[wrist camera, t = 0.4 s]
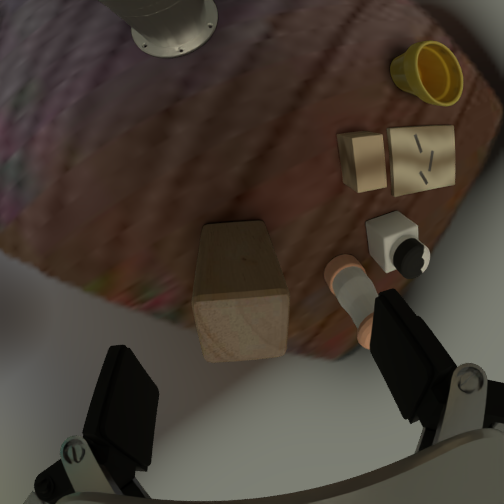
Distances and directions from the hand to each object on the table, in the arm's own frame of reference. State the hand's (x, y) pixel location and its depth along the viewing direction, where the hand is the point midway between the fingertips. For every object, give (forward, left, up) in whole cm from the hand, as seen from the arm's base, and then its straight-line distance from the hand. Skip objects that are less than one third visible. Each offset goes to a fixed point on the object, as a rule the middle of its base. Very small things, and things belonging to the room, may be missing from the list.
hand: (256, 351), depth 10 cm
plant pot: (-11, +32, -35) cm, 49 cm away
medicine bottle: (+17, +24, -35) cm, 46 cm away
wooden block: (+13, -3, -35) cm, 37 cm away
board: (+4, +34, -34) cm, 49 cm away
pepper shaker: (+23, +15, -35) cm, 44 cm away
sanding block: (+2, +19, -35) cm, 40 cm away
